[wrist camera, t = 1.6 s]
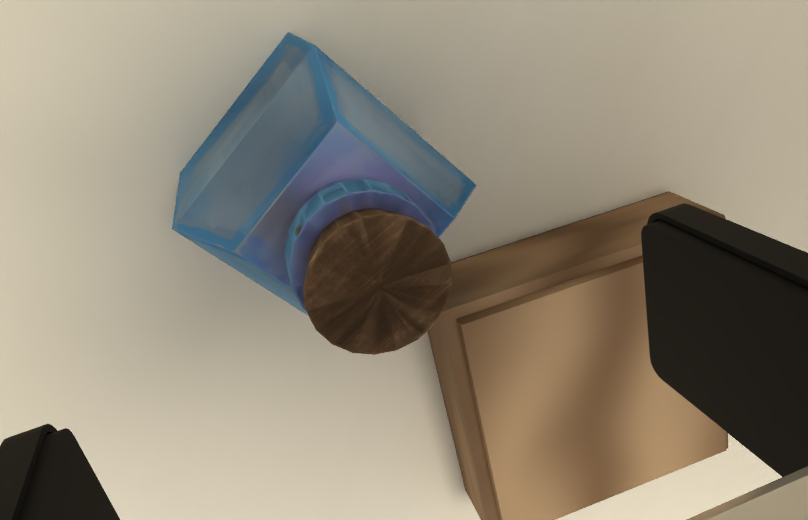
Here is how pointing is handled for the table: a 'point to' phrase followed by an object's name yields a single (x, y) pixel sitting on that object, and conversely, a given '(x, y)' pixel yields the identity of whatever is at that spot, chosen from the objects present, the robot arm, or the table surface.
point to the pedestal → (561, 372)
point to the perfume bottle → (326, 202)
